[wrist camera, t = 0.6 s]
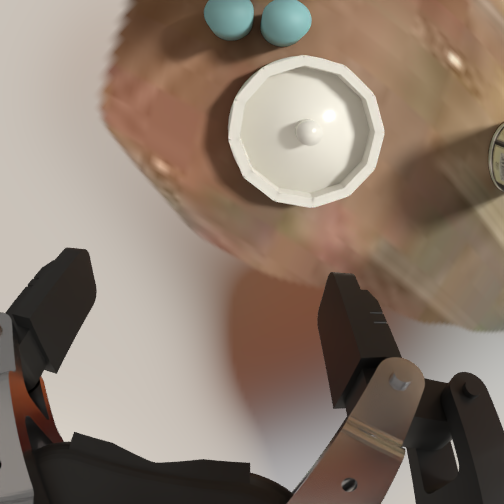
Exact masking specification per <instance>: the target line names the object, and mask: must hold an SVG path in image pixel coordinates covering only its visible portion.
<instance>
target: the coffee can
mask: <svg viewBox="0 0 504 504" xmlns="http://www.w3.org/2000/svg"><path fill="white" fill-rule="evenodd" d="M488 163H489V171H490V175H491V178H492V180H493V182H494V184H495V185H496V187H497V188H498V189H500V190H501V191H503V192H504V123H503V124H502V125H500V126H499V128H498V129H497V130H496V132H495V134H494V135H493V138H492V140H491V144H490V148H489V157H488Z"/></svg>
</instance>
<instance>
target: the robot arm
mask: <svg viewBox="0 0 504 504" xmlns="http://www.w3.org/2000/svg"><path fill="white" fill-rule="evenodd" d="M95 299H96V284H95V280H94V275H93V270H92V265H91V261H90V256H89V253H88V251H87V250H86V249H77V248H65V249H64V250H63V251H62V253H61V254H60V255H59V256H58V257H57V258H56V259H55V260H53V261H52V262H50V263H49V264H47V265H46V266H44V267H42V268H41V270H40V271H39V272H38V273H37V274H36V276H35V277H34V279H32V280H31V281H30V283H29V284H28V287H25V289H24V290H23V291H22V293H21V294H20V295H19V296H18V298H17V299H16V300H15V301H14V302H13V304H12V305H11V306H10V308H9V309H8V310H7V312H6V313H1V312H0V504H381V502H382V501H383V499H384V497H385V495H386V493H387V491H388V489H389V487H390V485H391V483H392V482H393V480H394V478H395V476H396V474H397V471H398V469H399V467H400V465H401V463H402V460H403V458H404V455H405V449H404V448H402V447H406V448H407V453H408V458H409V464H410V469H411V475H412V480H413V487H414V493H415V500H416V504H504V431H503V428H502V425H501V423H500V420H499V417H498V415H497V412H496V410H495V407H494V404H493V402H492V400H491V397H490V395H489V393H488V391H487V388H486V386H485V385H484V383H483V382H482V381H481V380H480V379H479V378H478V377H477V376H475V375H473V374H471V373H467V372H460V373H457V374H456V375H454V377H453V378H452V379H451V381H450V382H449V383H444V382H439V381H434V380H429V379H425V378H424V376H423V374H422V372H421V371H420V369H419V368H418V367H417V366H416V365H415V364H414V363H412V362H410V361H409V360H406V359H404V358H402V357H401V355H400V352H399V350H398V347H397V344H396V342H395V340H394V337H393V335H392V333H391V330H390V328H389V326H388V324H387V323H386V322H387V321H386V319H385V317H384V314H382V310H381V307H380V305H379V303H378V301H377V300H376V299H375V298H374V297H373V296H372V295H371V293H370V292H369V291H368V290H361V289H360V287H359V284H358V282H357V280H356V277H355V275H354V274H349V273H335V272H331V273H330V274H329V276H328V279H327V282H326V286H325V290H324V293H323V297H322V300H321V304H320V307H319V311H318V330H319V335H320V340H321V345H322V349H323V355H324V360H325V365H326V370H327V375H328V381H329V386H330V391H331V397H332V403H333V408H334V409H336V408H346V412H347V417H346V419H345V420H344V422H343V423H342V425H341V427H340V428H339V430H338V431H337V433H336V434H335V436H334V437H333V438H332V440H331V441H330V443H329V444H328V446H327V447H326V449H325V450H324V451H323V453H322V454H321V455H320V457H319V458H318V460H317V461H316V462H315V464H314V465H313V466H312V468H311V469H310V470H309V471H308V473H307V474H306V475H305V477H304V478H303V479H302V480H301V482H300V483H299V484H298V485H297V487H296V488H295V489H294V490H293V491H292V492H290V491H288V489H286V488H285V487H283V486H281V485H280V484H278V483H276V482H274V481H272V480H270V479H268V478H265V477H262V476H260V475H257V474H253V473H250V463H242V462H227V461H215V460H204V459H203V460H192V461H180V462H165V463H155V462H151V461H148V460H146V459H144V458H142V457H140V456H137V455H135V454H133V453H131V452H129V451H127V450H125V449H123V448H121V447H119V446H117V445H115V444H113V443H110V442H107V441H103V440H100V439H96V438H92V437H89V436H86V435H83V434H79V433H76V432H74V434H73V437H72V440H71V442H64V441H63V439H62V437H61V436H60V434H59V432H58V430H57V428H56V425H55V422H54V419H53V416H52V412H51V408H50V405H49V401H48V397H47V393H46V389H45V385H44V381H43V379H42V377H41V375H42V372H43V371H44V370H47V371H50V372H53V373H57V372H58V370H59V368H60V366H61V364H62V362H63V360H64V358H65V356H66V354H67V352H68V350H69V348H70V346H71V344H72V342H73V340H74V339H75V337H76V335H77V333H78V331H79V329H80V328H81V326H82V324H83V322H84V320H85V319H86V317H87V315H88V313H89V312H90V310H91V308H92V306H93V304H94V302H95ZM452 439H453V442H454V446H455V450H456V453H457V457H458V461H459V472H458V469H457V465H456V460H455V457H454V453H453V449H452V446H451V442H450V441H451V440H452Z"/></svg>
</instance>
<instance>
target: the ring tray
mask: <svg viewBox="0 0 504 504" xmlns="http://www.w3.org/2000/svg"><path fill="white" fill-rule="evenodd" d="M373 94H374V93H373V92H372V91H371V90H370V89H369V88H368V87H367V86H366V85H365V84H364V83H363V82H362V81H361V80H360V79H359V78H358V77H357V76H356V75H355V74H354V73H353V72H352V71H351V70H350V69H348V68H347V67H346V66H344V65H342V64H338V63H335V62H332V61H329V60H326V59H322V58H318V57H312V56H307V55H304V56H303V55H301V56H295V57H288V58H284V59H280V60H277V61H274V62H272V63H270V64H268V65H266V66H264V67H262V68H261V69H259V70H258V71H257V72H255V73H254V74H253V75H252V76H251V77H250V78H249V79H248V80H247V81H246V82H245V83H244V85H243V86H242V87H241V89H240V90H239V92H238V94H237V95H236V97H235V99H234V102H233V104H232V107H231V111H230V115H229V122H228V136H229V137H228V139H229V140H228V141H229V144H230V147H231V150H232V153H233V156H234V158H235V160H236V162H237V164H238V166H239V168H240V170H241V173H242V175H243V176H244V178H245V179H246V180H248V181H249V182H250V183H251V184H253V185H254V186H255V187H257V188H258V189H259V190H260V191H262V192H263V193H264V194H266V195H267V196H268V197H269V198H271V199H272V200H273V201H275V202H280V203H286V204H292V205H298V206H304V207H310V208H312V206H313V208H314V207H317V206H321V205H324V204H327V203H330V202H333V201H336V200H339V199H342V198H345V197H348V195H349V196H350V195H351V194H352V193H353V192H354V191H355V190H356V188H357V187H358V186H359V185H360V184H361V183H362V182H363V181H364V180H365V179H366V178H367V177H368V176H369V175H370V174H371V173H372V172H373V171H374V169H373V168H376V164H377V160H378V157H379V153H380V149H381V145H382V141H383V137H384V133H383V132H385V131H384V127H383V123H382V120H381V116H380V112H379V108H378V105H377V101H376V98H375V95H373Z"/></svg>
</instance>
